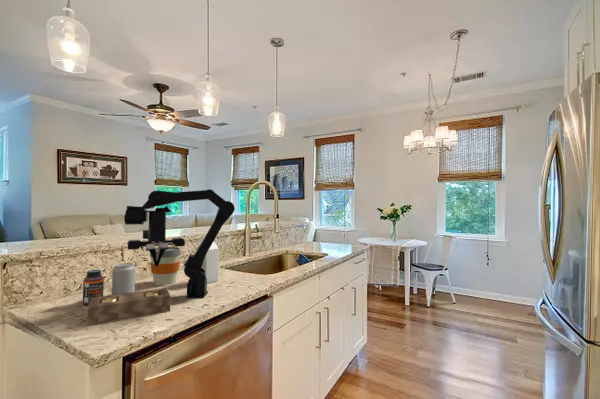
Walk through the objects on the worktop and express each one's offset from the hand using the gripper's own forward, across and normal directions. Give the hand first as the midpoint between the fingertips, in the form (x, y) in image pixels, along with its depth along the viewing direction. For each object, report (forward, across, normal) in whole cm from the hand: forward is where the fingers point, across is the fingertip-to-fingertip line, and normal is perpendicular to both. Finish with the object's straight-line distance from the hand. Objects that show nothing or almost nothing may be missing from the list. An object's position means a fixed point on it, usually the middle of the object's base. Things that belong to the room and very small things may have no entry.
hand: (156, 266), depth 106 cm
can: (+12, +10, -10) cm, 19 cm away
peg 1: (+12, +14, +10) cm, 21 cm away
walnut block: (+12, +8, +10) cm, 18 cm away
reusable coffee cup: (+12, -6, -22) cm, 26 cm away
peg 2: (+12, +2, +10) cm, 16 cm away
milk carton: (+12, -22, -15) cm, 29 cm away
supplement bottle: (+12, +19, -6) cm, 24 cm away
